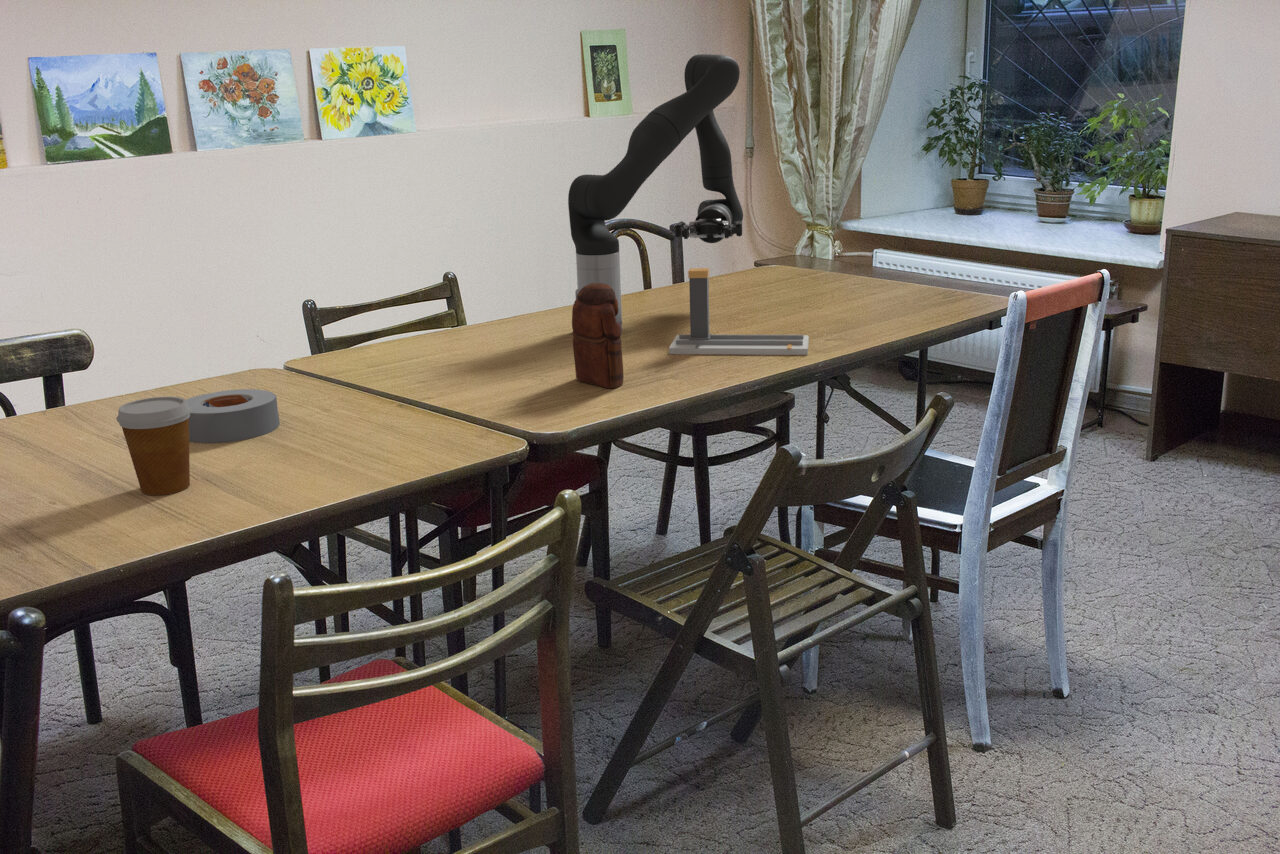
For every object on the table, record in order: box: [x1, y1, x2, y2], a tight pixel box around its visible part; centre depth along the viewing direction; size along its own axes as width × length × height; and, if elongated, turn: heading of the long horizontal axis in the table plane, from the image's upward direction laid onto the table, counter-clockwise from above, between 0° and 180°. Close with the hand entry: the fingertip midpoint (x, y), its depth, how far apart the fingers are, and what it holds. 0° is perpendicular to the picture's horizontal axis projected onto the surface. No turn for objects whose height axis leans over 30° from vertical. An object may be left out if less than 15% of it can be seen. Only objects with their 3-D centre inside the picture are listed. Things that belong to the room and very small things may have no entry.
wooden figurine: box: [571, 283, 625, 389], centre depth 208 cm, size 12×6×18 cm, turn 43°
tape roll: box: [185, 388, 281, 444], centre depth 188 cm, size 15×15×5 cm
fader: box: [687, 267, 712, 340], centre depth 232 cm, size 4×4×14 cm
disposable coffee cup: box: [116, 396, 191, 496], centre depth 160 cm, size 10×10×12 cm
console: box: [668, 333, 810, 356], centre depth 233 cm, size 27×13×2 cm, turn 81°
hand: (705, 233), depth 242 cm, fingers open, 8 cm apart
